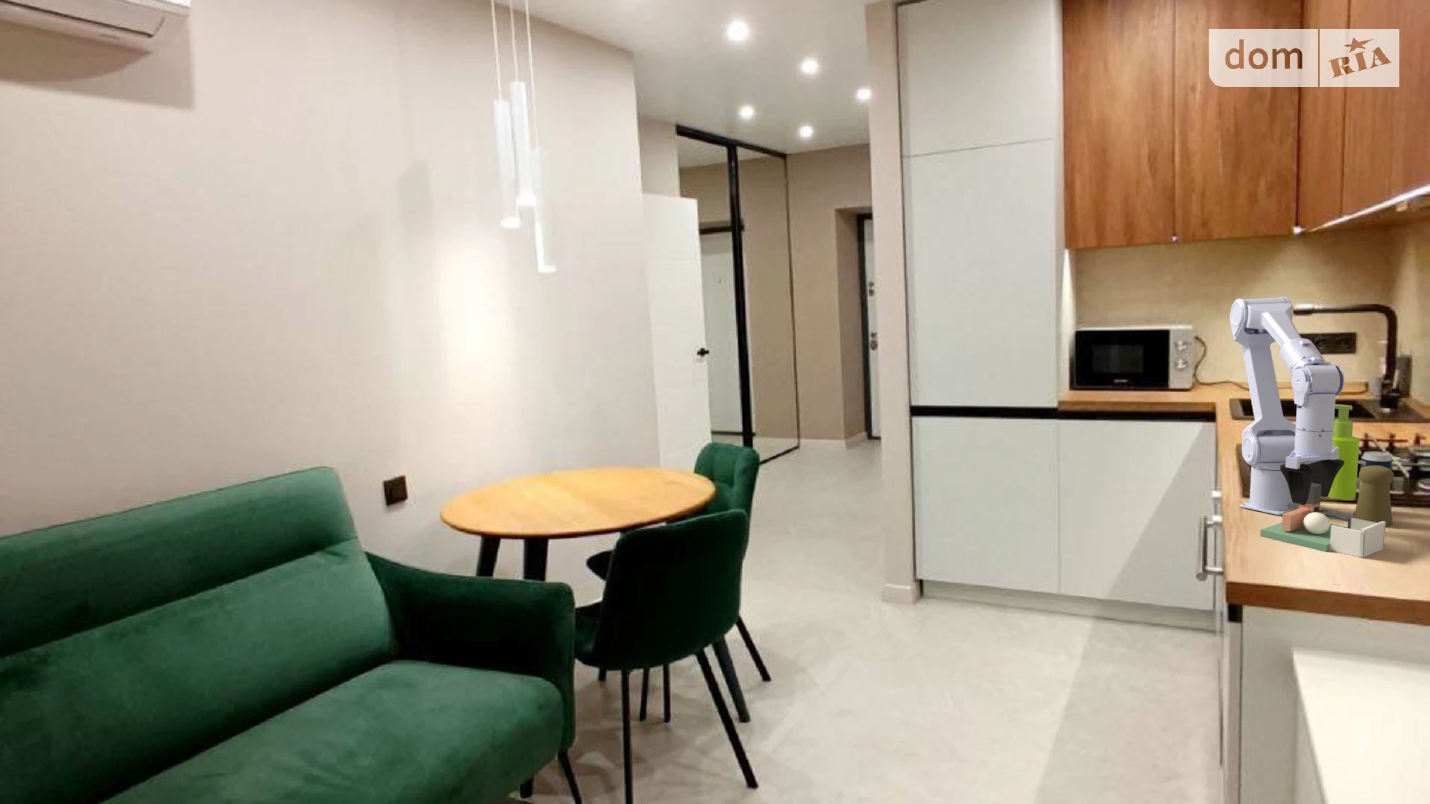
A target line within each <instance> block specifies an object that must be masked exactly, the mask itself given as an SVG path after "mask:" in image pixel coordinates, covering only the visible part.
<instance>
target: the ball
mask: <svg viewBox="0 0 1430 804" xmlns="http://www.w3.org/2000/svg"><path fill="white" fill-rule="evenodd" d="M1303 524H1304V527H1305V529H1306V530H1307V531H1308V532H1310V533H1312V534H1323V533H1325V532H1327V531H1328V530H1329V528H1330V524H1331V521H1330V519H1329V517H1327V516H1325V515H1324V514H1322V513H1318V512H1313V513H1310V514H1308V515H1307V516H1306V517H1305V518H1304V521H1303Z"/></svg>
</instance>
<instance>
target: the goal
mask: <svg viewBox="0 0 1430 804" xmlns="http://www.w3.org/2000/svg"><path fill="white" fill-rule="evenodd" d="M1385 524H1386V522H1384V521H1381V522H1379V523H1376V522H1371V521H1366V520H1361V519H1356V518H1351V529H1348V528H1344V527H1345V526H1344V527H1339V526H1340V525H1339V526H1334V525H1332V526H1331V536H1330V550H1329V551H1331V550H1332V552H1336V553H1339V552H1342V553H1341V554H1344V553H1345V554H1344V555H1348V554H1349V556H1352V555H1354V556H1353V557H1357V558H1362V559H1363V558H1365V557H1368V556H1370V555H1373V554H1375V553H1378V552H1380V551H1382V550H1384V549H1385V548H1384V547H1385V535H1386V527H1385Z"/></svg>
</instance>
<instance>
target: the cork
mask: <svg viewBox="0 0 1430 804" xmlns="http://www.w3.org/2000/svg"><path fill="white" fill-rule="evenodd" d="M1394 475H1395V474H1394V472H1393V470H1392V469H1391V470H1390V469H1389V468H1386V467H1382V466H1365V467H1363V468H1362V469H1361V468H1360V470H1359V473H1358V478H1359V481H1360V480H1361V482H1362V485H1361V490H1360V494H1359V493H1358V498H1357V502H1356V506H1355V511H1354V514H1353V516H1356V517H1357V519H1361V520H1366V521H1371V522H1376V523H1379V522H1381V521H1384V522H1386V524H1385V528H1388V527H1392V526H1393V513H1392V512H1393V511H1392V503H1391V490H1390V488H1391V487H1390V488H1389V485H1390V486H1391V484H1392V483H1393V482H1394Z"/></svg>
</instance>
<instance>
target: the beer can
mask: <svg viewBox="0 0 1430 804" xmlns="http://www.w3.org/2000/svg"><path fill="white" fill-rule="evenodd" d="M1360 459H1361V460H1360V461H1361V462H1360V470H1361V469H1362V468H1363V467H1365V466H1382V467H1386V468H1389V469H1390V470H1392V461H1393V459H1392V456H1391V454H1390V453H1388V452H1382V451H1375V450H1374V451H1372V450H1370V451H1369V450H1368V451H1364V453H1363V454H1362V456H1361V457H1360ZM1361 485H1362V482H1361V480H1360V479H1359V485H1358V486H1359V488H1358V495H1359V494H1360V490H1361ZM1389 488H1391V484H1390V485H1389Z"/></svg>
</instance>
